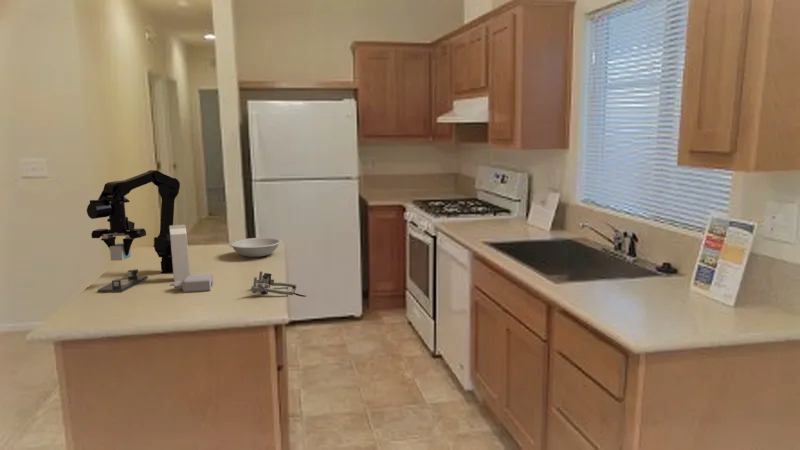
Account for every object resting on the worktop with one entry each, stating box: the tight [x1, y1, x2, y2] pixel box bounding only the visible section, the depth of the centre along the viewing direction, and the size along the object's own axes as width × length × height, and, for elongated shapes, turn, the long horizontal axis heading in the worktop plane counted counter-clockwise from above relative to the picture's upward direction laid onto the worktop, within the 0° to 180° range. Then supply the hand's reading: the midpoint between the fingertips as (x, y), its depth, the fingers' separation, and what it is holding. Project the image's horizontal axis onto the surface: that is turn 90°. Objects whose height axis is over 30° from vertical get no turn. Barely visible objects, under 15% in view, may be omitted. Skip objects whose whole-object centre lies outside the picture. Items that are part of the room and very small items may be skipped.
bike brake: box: [250, 270, 307, 298], centre depth 209 cm, size 14×7×20 cm
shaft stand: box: [97, 268, 149, 293], centre depth 223 cm, size 9×20×4 cm, turn 178°
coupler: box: [109, 242, 132, 261], centre depth 221 cm, size 7×4×5 cm, turn 177°
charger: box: [168, 273, 214, 293], centre depth 215 cm, size 5×9×15 cm
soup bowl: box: [228, 237, 283, 258], centre depth 270 cm, size 24×24×7 cm
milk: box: [169, 224, 191, 283], centre depth 228 cm, size 6×6×22 cm
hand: (121, 255), depth 221 cm, fingers closed on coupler, 4 cm apart
